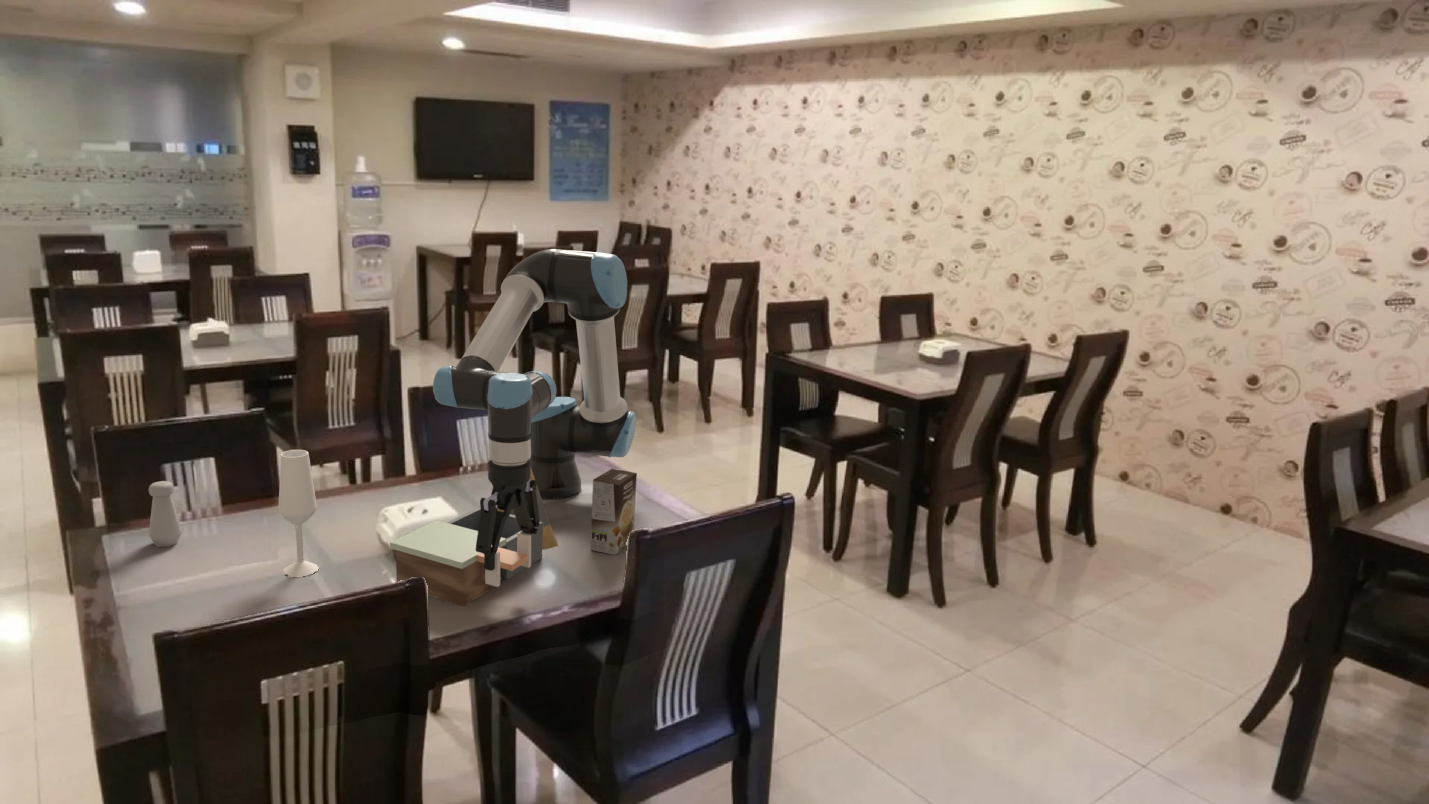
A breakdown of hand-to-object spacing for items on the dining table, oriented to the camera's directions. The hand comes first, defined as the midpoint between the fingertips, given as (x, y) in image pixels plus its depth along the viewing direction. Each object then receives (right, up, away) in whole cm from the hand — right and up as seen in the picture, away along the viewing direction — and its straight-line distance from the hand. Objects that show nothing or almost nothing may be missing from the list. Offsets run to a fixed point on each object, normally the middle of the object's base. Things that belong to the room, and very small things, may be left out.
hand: (508, 574), depth 170 cm
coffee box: (+16, +1, +30) cm, 34 cm away
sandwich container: (-3, +2, +31) cm, 31 cm away
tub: (-8, 0, +19) cm, 20 cm away
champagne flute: (-43, -1, +9) cm, 44 cm away
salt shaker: (-74, +3, +17) cm, 76 cm away
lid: (-9, +4, +3) cm, 10 cm away
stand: (-13, -3, +7) cm, 15 cm away
